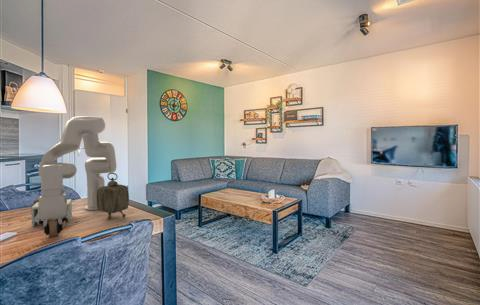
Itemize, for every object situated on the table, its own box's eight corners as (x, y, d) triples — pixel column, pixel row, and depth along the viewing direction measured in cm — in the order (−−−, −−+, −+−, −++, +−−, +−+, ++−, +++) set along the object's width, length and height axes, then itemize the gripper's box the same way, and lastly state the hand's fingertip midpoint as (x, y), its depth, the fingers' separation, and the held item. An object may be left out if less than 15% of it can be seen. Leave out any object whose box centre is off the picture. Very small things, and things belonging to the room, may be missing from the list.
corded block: (65, 224, 121) (65, 210, 121) (60, 235, 106) (59, 219, 106) (53, 225, 118) (52, 211, 118) (45, 237, 103) (45, 221, 103)
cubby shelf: (71, 215, 136) (71, 199, 136) (69, 221, 126) (69, 203, 125) (37, 219, 128) (36, 202, 128) (32, 226, 118) (31, 207, 118)
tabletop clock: (129, 216, 134) (128, 172, 133) (116, 221, 126) (115, 174, 125) (109, 214, 139) (108, 171, 138) (95, 218, 130) (94, 173, 129)
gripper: (75, 189, 113) (76, 227, 114) (30, 192, 104) (31, 234, 105) (74, 192, 106) (75, 232, 107) (25, 196, 98) (27, 240, 99)
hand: (53, 232), depth 106 cm, fingers closed on corded block, 3 cm apart
